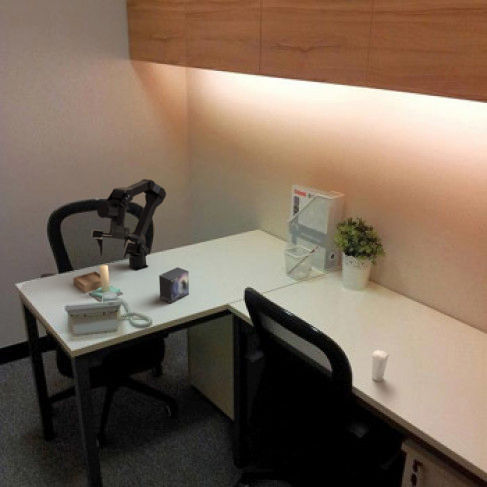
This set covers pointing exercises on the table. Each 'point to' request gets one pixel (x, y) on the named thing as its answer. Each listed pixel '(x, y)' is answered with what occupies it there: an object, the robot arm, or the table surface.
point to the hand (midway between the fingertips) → (112, 257)
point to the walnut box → (88, 282)
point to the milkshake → (379, 365)
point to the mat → (101, 298)
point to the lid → (104, 283)
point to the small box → (174, 285)
